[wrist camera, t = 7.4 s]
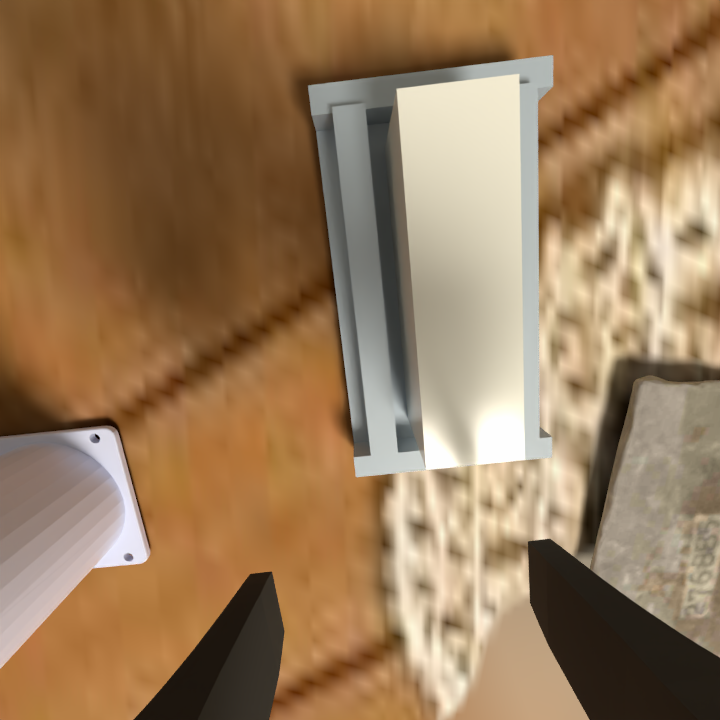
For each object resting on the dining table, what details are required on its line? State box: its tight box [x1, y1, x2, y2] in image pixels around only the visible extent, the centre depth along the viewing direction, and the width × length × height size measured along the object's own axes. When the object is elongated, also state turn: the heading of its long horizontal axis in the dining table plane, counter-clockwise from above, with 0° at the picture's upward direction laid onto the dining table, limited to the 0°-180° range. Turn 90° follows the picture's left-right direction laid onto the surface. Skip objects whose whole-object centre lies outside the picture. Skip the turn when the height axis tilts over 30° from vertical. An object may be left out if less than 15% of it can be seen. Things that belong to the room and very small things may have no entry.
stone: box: [590, 375, 720, 657], centre depth 20 cm, size 18×3×10 cm
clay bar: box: [385, 74, 525, 469], centre depth 14 cm, size 12×4×5 cm, turn 6°
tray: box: [308, 55, 553, 477], centre depth 16 cm, size 9×16×3 cm, turn 6°
